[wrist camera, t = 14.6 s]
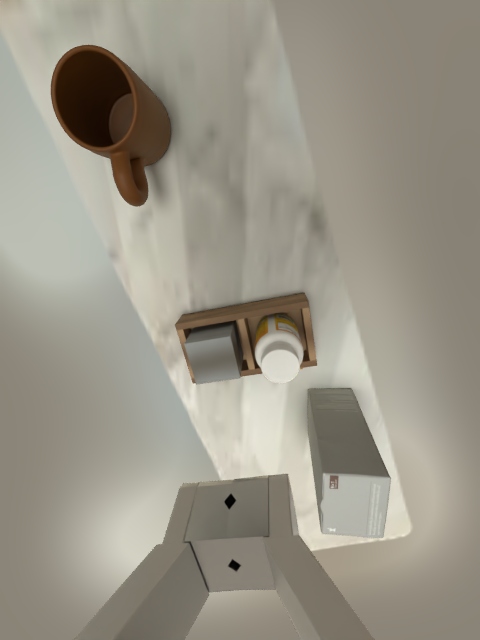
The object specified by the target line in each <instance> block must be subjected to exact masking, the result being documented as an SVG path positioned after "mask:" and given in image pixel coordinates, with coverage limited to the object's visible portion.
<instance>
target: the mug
mask: <svg viewBox="0 0 480 640" xmlns="http://www.w3.org/2000/svg"><path fill="white" fill-rule="evenodd" d="M51 99H52V104H53V108H54V111H55V114H56V117H57V119H58V121H59V123H60V124H61V126H62V128H63V129H64V131H65V132H66V133H67V134H68V136H69V137H70V138H71V139H72V140H73V141H75V142H76V143H77V144H79V145H80V146H82V147H84V148H86V149H88V150H90V151H92V152H93V153H96V154H98V155H101V156H104V157H107V158H110V159H111V164H112V171H113V177H114V180H115V183H116V186H117V188H118V190H119V192H120V194H121V196H122V197H123V199H124V200H125V201H126V202H127V203H129V204H130V205H133V206H141V205H143V204H144V203H145V202H146V200H147V198H148V183H147V179H146V175H145V171H144V166H147V165H150V164H153V163H154V162H156V161H157V160H159V159H160V158H161V157H162V156H163V154H164V153H165V151H166V149H167V147H168V145H169V141H170V132H171V129H170V122H169V118H168V114H167V112H166V110H165V108H164V106H163V104H162V103H161V101H160V100H159V99H158V97H157V96H156V95H155V94H154V93H153V92H152V91H151V90H150V88H149V87H148V86H147V85H146V84H145V83H144V82H143V81H142V80H141V79H140V78H139V77H138V76H137V75H136V73H135V72H134V71H133V70H132V69H131V68H130V67H129V66H128V65H127V64H125V63H124V62H123V61H122V60H120V59H119V58H118V57H117V56H115V55H114V54H113V53H111V52H110V51H108V50H106V49H104V48H102V47H99V46H95V45H82V46H78V47H75V48H73V49H71V50H69V51H68V52H66V53H65V54H64V55H63V56H62V58H61V59H60V60H59V61H58V63H57V65H56V67H55V70H54V72H53V76H52V81H51Z"/></svg>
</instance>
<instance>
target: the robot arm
mask: <svg viewBox="0 0 480 640" xmlns="http://www.w3.org/2000/svg"><path fill="white" fill-rule="evenodd" d="M233 590H277V593H278V595H279V597H280V599H281V601H282V603H283V605H284V607H285V609H286V611H287V613H288V615H289V617H290V619H291V621H292V623H293V625H294V627H295V629H296V630H297V633H298V635H299V637H300V639H301V640H374V638H373V637H372V636H371V634H370V632H369V631H368V630H367V628H366V627H365V625H364V624H363V623H362V621H361V620H360V619H359V617H358V616H357V614H356V613H355V612H354V610H353V609H352V608H351V606H350V605H349V604H348V602H347V601H346V600H345V598H344V597H343V595H342V594H341V592H340V591H339V590H338V588H337V587H336V585H335V584H334V583H333V581H332V580H331V578H330V577H329V576H328V574H327V573H326V572H325V570H324V569H323V568H322V566H321V565H320V563H319V562H318V561H317V559H316V558H315V556H314V555H313V554H312V552H311V551H310V549H309V548H308V547H307V545H306V544H305V543H304V541H303V540H302V538H301V537H300V536H299V532H298V524H297V518H296V512H295V506H294V500H293V495H292V490H291V485H290V480H289V476H288V474H280V475H270V476H269V475H268V476H259V477H250V478H241V479H234V480H223V481H208V482H197V483H183V484H182V486H181V487H180V489H179V492H178V495H177V498H176V502H175V504H174V508H173V511H172V514H171V517H170V521H169V524H168V527H167V530H166V534H165V537H164V540H163V544H159V545H156V546H155V547H154V549H153V550H152V551H151V552H150V553H149V554H148V555H147V557H146V558H145V559H144V560H143V561H142V562H141V563H140V565H139V566H138V567H137V568H136V569H135V571H133V572H132V574H131V575H130V576H129V577H128V578H127V579H126V580H125V582H124V583H123V584H122V585H121V586H120V587H119V589H118V590H117V591H116V592H115V593H114V594H113V595H112V596H111V598H110V599H109V600H108V601H107V602H106V603H105V604H104V606H103V607H102V608H101V609H100V610H99V611H98V612H97V614H96V615H95V616H94V617H93V618H92V619H91V621H90V622H89V623H88V624H87V625H86V626H85V627H84V628H83V630H82V631H81V632H80V633H79V634H78V635H77V636H76V638H75V639H74V640H185V638H186V636H187V635H188V633H189V631H190V629H191V627H192V625H193V624H194V622H195V620H196V618H197V616H198V615H199V613H200V611H201V609H202V607H203V605H204V603H205V602H206V600H207V598H208V596H209V593H208V592H220V591H233Z"/></svg>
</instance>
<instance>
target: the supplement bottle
mask: <svg viewBox="0 0 480 640" xmlns="http://www.w3.org/2000/svg"><path fill="white" fill-rule="evenodd" d="M255 358H256V361H257V363H258V365H259V367H260V368H261V371H262V373H263V375H264V376H265V377H266V378H267V379H268V380H269V381H271V382H274V383H287V382H289V381H291V380H293V379H294V378H295V377H296V376H297V374H298V373H299V370H300V365H301V363H302V360H303V347H302V343H301V340H300V336H299V333H298V329H297V326H296V324H295V322H294V321H293V319H292V318H291V317H289V316H288V315H286V314H283V313H274V314H268V315H266V316H264V317H263V318H262V319H261V320H260V321H259V323H258V325H257V329H256V341H255Z"/></svg>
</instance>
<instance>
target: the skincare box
mask: <svg viewBox="0 0 480 640" xmlns="http://www.w3.org/2000/svg"><path fill="white" fill-rule="evenodd" d="M308 436H309V443H310V451H311V459H312V466H313V474H314V482H315V490H316V497H317V505H318V513H319V520H320V527H321V532H322V534H332V535H345V536H356V537H366V538H383V536H384V529H385V522H386V515H387V508H388V500H389V491H390V482H391V477H390V476H389V474H388V471H387V469H386V467H385V465H384V462H383V460H382V458H381V456H380V453H379V451H378V449H377V446H376V444H375V442H374V439H373V437H372V435H371V432H370V430H369V428H368V425H367V423H366V421H365V418H364V416H363V414H362V411H361V409H360V407H359V404H358V402H357V400H356V397H355V395H354V393H353V390H352V389H308Z"/></svg>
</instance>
